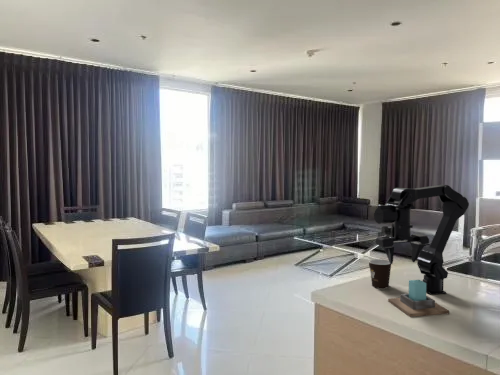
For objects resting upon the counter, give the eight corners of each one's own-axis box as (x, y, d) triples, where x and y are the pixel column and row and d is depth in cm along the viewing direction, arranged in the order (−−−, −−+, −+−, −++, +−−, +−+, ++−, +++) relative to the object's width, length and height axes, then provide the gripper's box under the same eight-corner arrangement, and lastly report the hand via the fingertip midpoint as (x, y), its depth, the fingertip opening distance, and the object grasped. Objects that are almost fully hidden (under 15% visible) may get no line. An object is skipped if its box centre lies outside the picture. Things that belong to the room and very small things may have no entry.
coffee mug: (393, 289, 149) (393, 265, 148) (370, 288, 150) (370, 264, 150) (388, 280, 160) (388, 257, 159) (367, 279, 162) (367, 257, 161)
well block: (423, 298, 139) (423, 289, 138) (448, 313, 125) (449, 303, 125) (388, 301, 137) (388, 292, 136) (409, 316, 123) (409, 306, 123)
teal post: (419, 301, 133) (419, 279, 132) (426, 306, 129) (426, 283, 128) (408, 302, 132) (408, 280, 132) (415, 306, 128) (415, 284, 128)
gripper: (411, 217, 149) (411, 255, 150) (368, 220, 146) (368, 259, 147) (430, 221, 139) (429, 263, 140) (383, 224, 135) (383, 267, 136)
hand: (402, 262), depth 141 cm, fingers open, 9 cm apart
